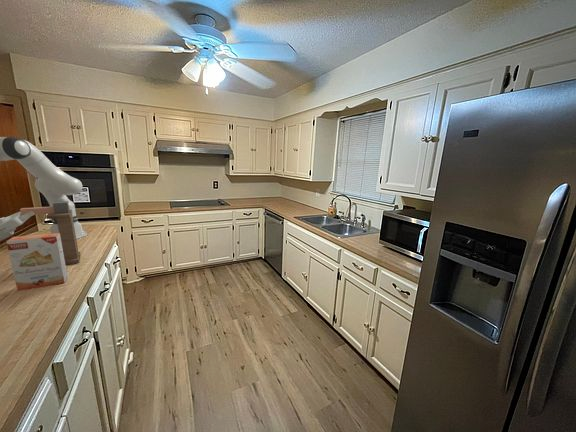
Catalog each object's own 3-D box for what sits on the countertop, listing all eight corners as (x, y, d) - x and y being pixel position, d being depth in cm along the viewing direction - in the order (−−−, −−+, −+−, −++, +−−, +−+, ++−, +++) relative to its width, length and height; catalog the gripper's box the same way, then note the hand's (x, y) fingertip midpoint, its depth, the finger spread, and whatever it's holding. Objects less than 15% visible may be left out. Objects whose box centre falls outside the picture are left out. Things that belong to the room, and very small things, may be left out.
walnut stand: (59, 258, 125) (50, 211, 119) (80, 255, 130) (73, 209, 124) (55, 267, 115) (46, 215, 110) (79, 263, 120) (70, 214, 115)
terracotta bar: (23, 214, 111) (21, 203, 110) (69, 210, 121) (68, 201, 120) (20, 216, 107) (18, 205, 106) (68, 212, 117) (67, 202, 116)
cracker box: (16, 292, 94) (4, 240, 89) (23, 285, 99) (11, 236, 94) (64, 284, 101) (56, 236, 96) (68, 277, 106) (60, 232, 101)
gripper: (-16, 228, 97) (24, 209, 102) (0, 218, 112) (34, 201, 118) (-1, 240, 100) (37, 220, 105) (13, 228, 115) (45, 211, 121)
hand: (35, 210), depth 112 cm, fingers open, 8 cm apart
